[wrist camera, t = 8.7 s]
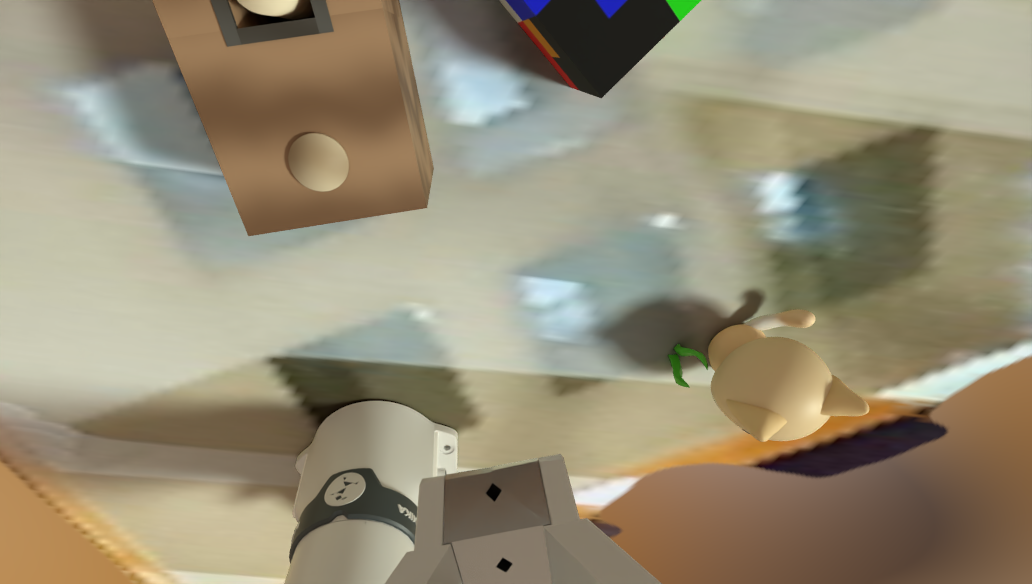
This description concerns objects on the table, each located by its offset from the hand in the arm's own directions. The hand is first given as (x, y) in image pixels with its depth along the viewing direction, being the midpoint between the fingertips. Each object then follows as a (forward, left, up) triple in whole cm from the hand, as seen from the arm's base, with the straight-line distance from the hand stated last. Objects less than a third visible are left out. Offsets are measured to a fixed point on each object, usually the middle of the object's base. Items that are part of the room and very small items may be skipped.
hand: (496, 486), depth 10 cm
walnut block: (+8, +9, -37) cm, 39 cm away
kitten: (-26, -26, -37) cm, 52 cm away
